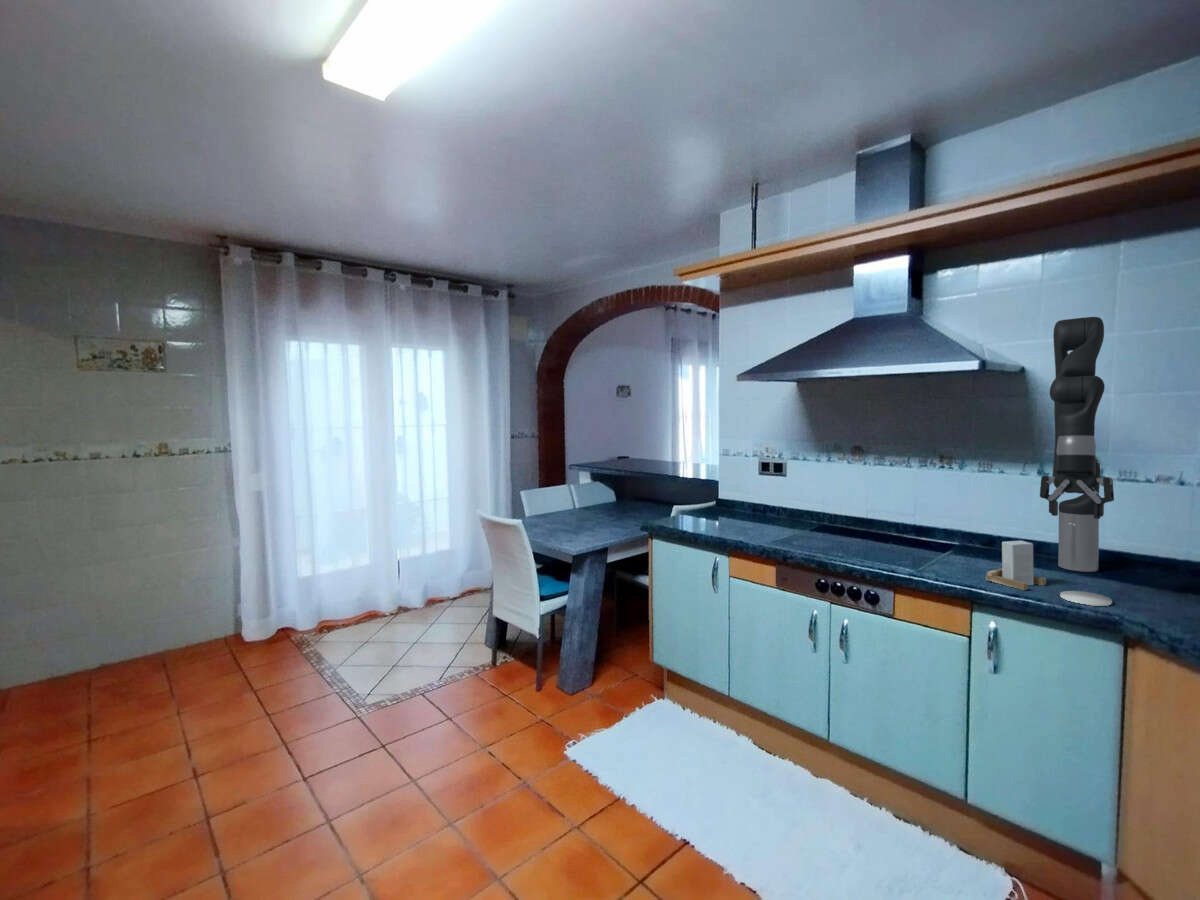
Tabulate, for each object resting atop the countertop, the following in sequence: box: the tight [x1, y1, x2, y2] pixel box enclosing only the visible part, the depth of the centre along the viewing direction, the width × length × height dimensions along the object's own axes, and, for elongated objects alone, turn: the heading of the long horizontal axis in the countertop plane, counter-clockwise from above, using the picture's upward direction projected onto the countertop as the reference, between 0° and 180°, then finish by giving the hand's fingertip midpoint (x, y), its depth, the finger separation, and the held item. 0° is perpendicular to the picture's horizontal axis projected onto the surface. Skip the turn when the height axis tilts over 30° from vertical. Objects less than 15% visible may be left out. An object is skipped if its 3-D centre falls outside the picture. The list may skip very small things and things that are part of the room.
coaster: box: [1059, 590, 1113, 607], centre depth 141 cm, size 10×10×1 cm
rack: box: [985, 567, 1047, 591], centre depth 156 cm, size 10×10×3 cm
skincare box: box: [1001, 540, 1035, 586], centre depth 155 cm, size 6×4×12 cm
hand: (1075, 517), depth 140 cm, fingers open, 8 cm apart
